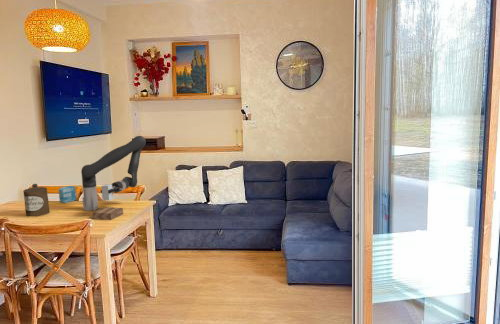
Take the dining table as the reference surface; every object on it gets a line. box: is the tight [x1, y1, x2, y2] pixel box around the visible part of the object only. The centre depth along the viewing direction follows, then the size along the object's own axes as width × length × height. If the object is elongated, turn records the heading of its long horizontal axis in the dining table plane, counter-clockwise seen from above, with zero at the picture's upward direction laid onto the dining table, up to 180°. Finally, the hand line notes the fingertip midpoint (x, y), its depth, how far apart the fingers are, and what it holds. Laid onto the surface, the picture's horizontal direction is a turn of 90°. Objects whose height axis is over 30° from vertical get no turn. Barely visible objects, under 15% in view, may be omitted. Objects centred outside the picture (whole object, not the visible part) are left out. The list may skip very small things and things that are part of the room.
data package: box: [58, 185, 77, 204], centre depth 301 cm, size 12×4×12 cm, turn 155°
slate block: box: [100, 183, 114, 201], centre depth 253 cm, size 5×5×10 cm
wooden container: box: [23, 183, 50, 217], centre depth 264 cm, size 15×15×22 cm
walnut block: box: [92, 206, 124, 221], centre depth 254 cm, size 14×14×5 cm
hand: (105, 191), depth 250 cm, fingers closed on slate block, 5 cm apart
